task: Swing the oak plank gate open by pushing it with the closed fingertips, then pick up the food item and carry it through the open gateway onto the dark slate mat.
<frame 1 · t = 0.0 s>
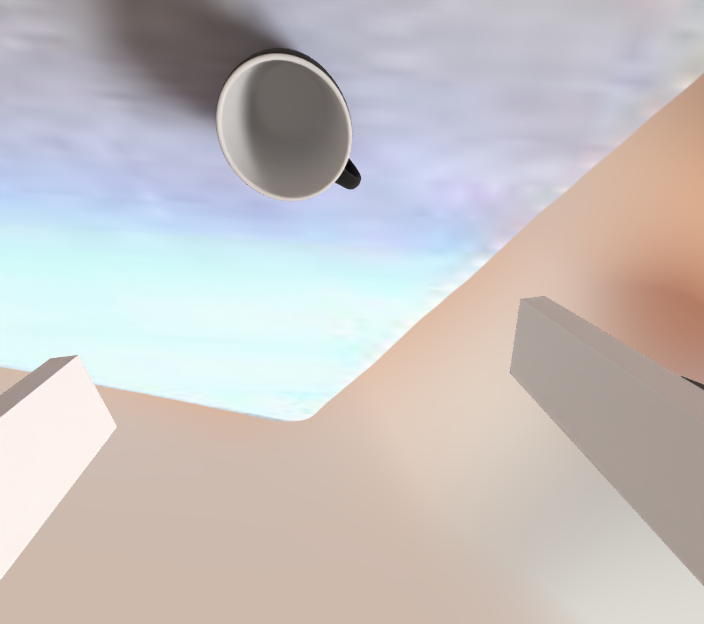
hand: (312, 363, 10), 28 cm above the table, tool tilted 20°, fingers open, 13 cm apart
mug: (303, 116, 30), on the table
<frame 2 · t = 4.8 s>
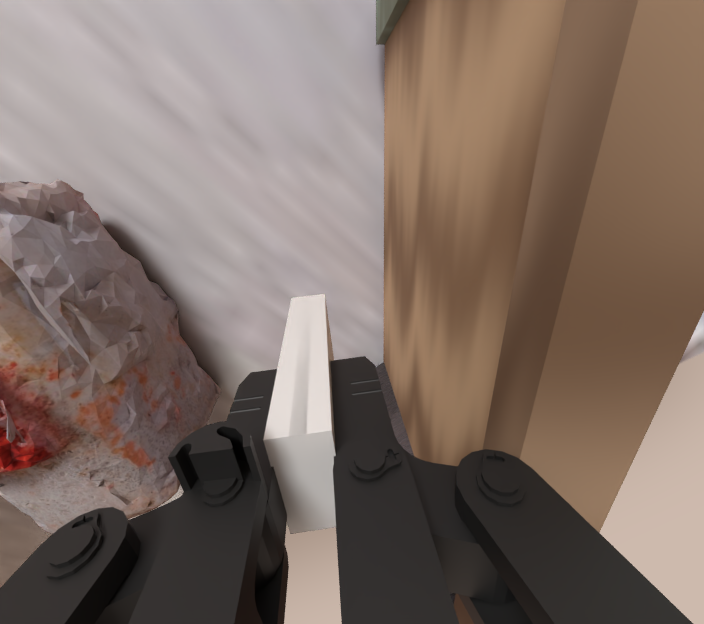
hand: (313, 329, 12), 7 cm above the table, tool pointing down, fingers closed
gate: (444, 249, 10), point 7 cm above the table, hinge at -3.4°, touching gripper, hand
gate post: (391, 379, 22), on the table
food item: (125, 314, 18), on the table
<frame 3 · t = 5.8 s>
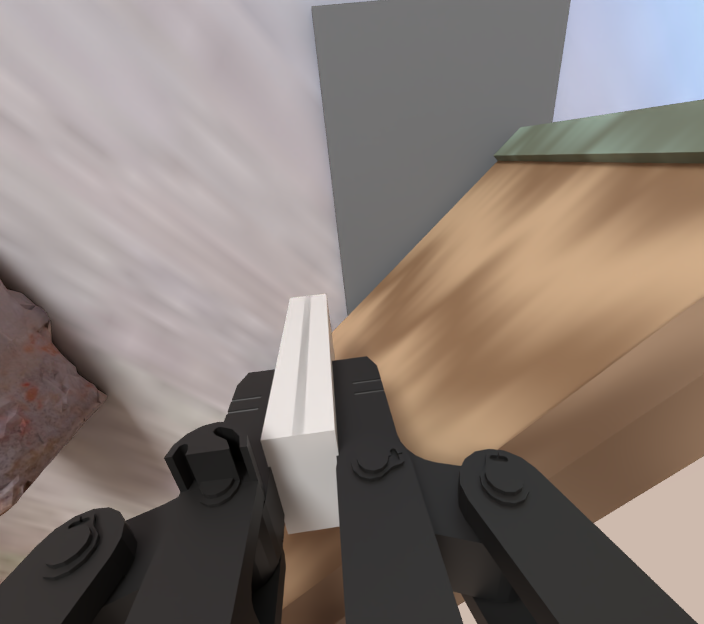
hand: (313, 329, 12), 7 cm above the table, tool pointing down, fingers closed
gate: (450, 330, 12), point 8 cm above the table, hinge at -48.1°, touching gripper
mat: (438, 193, 17), on the table
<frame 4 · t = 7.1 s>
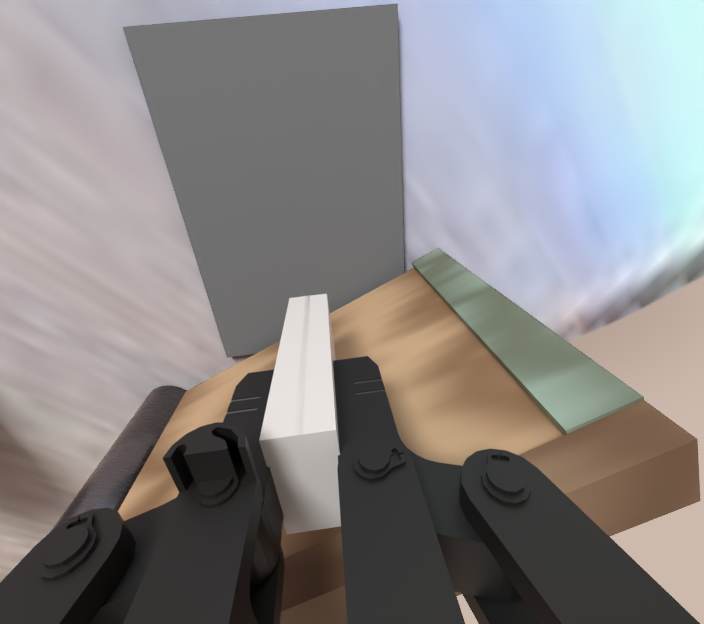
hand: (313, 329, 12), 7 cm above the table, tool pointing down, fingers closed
gate: (310, 416, 13), point 8 cm above the table, hinge at -66.9°, touching hand
gate post: (172, 404, 21), on the table
mat: (296, 213, 17), on the table
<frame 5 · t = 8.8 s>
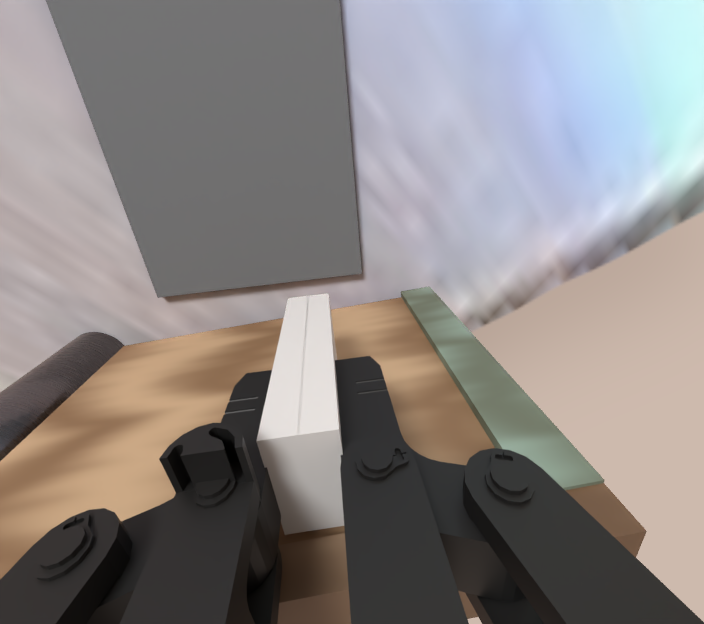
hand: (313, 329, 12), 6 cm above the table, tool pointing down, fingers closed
gate: (263, 411, 12), point 8 cm above the table, hinge at -86.7°, touching gripper
gate post: (100, 354, 19), on the table
mat: (226, 120, 14), on the table
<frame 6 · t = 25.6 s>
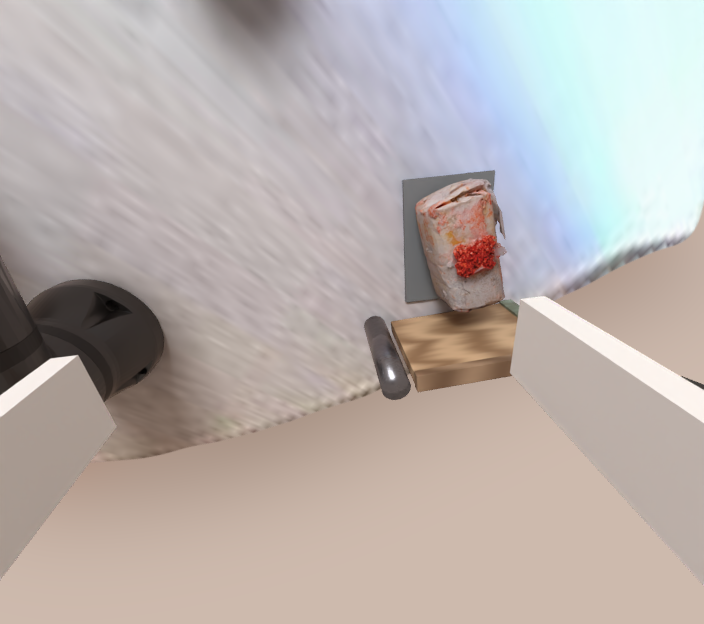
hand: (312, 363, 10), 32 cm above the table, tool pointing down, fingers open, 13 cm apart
gate: (470, 339, 39), point 8 cm above the table, hinge at -87.5°
gate post: (374, 325, 46), on the table
food item: (447, 238, 41), resting on mat
mat: (446, 240, 41), on the table
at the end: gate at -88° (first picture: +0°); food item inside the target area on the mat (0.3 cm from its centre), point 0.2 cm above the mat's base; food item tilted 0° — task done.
